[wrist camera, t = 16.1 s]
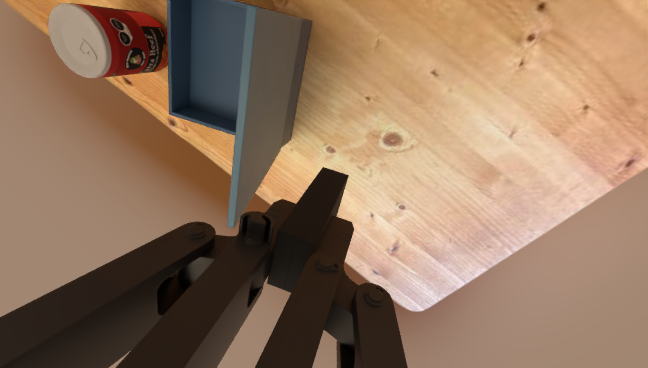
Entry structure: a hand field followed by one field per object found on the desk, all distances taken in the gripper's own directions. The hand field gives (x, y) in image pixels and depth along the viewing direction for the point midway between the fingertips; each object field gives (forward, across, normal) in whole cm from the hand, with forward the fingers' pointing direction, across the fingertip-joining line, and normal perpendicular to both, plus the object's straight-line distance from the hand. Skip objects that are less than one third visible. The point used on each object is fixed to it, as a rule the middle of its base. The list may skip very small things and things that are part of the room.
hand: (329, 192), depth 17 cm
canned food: (+26, -34, 0) cm, 43 cm away
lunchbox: (+26, -19, 0) cm, 32 cm away
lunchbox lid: (+12, -9, 0) cm, 15 cm away
